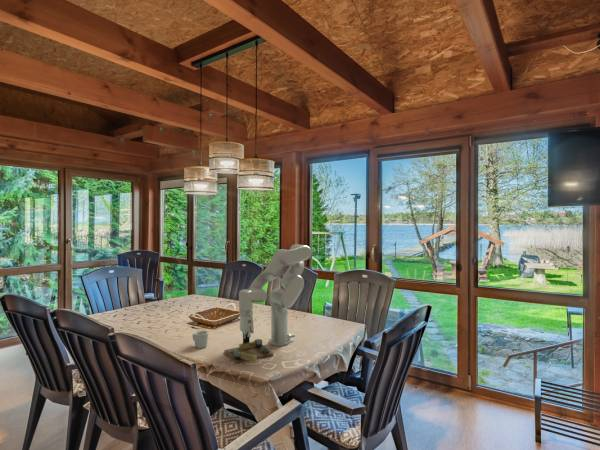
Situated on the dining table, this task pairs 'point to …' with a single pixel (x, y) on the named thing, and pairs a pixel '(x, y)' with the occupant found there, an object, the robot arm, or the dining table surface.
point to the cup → (200, 339)
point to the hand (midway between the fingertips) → (246, 345)
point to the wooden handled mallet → (244, 356)
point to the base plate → (259, 351)
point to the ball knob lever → (251, 344)
